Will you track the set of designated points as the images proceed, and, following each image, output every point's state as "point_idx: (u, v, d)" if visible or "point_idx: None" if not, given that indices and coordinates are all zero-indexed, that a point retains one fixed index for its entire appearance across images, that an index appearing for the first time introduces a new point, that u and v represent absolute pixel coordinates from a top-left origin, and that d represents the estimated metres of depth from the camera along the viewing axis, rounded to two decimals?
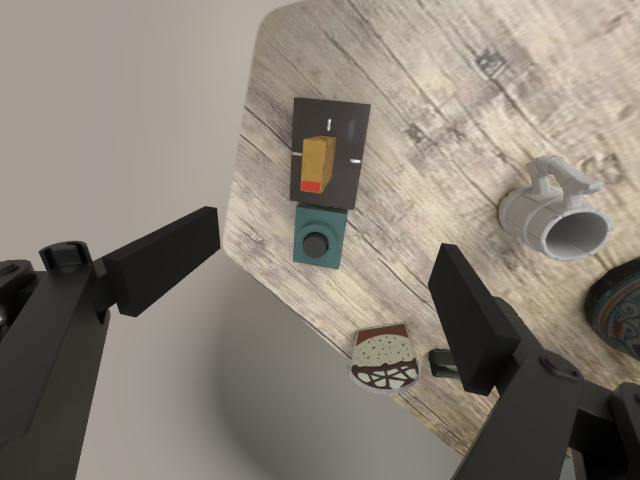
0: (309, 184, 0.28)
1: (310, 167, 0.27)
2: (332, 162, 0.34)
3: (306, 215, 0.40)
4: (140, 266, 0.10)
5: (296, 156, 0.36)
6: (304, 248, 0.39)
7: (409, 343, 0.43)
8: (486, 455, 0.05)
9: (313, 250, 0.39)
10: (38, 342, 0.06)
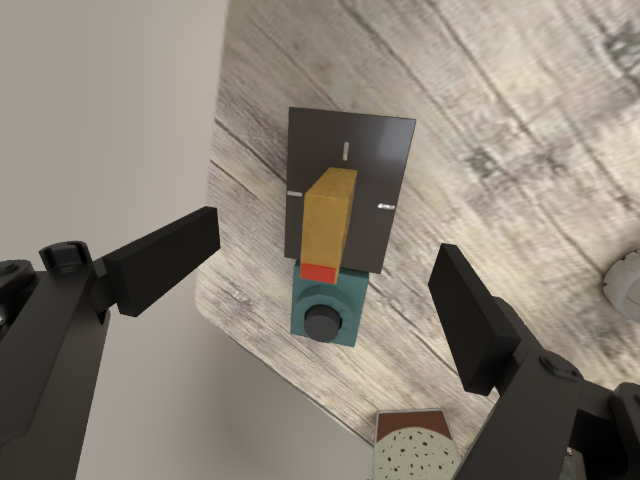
0: (315, 270, 0.15)
1: (317, 242, 0.15)
2: None
3: None
4: (140, 266, 0.10)
5: (294, 196, 0.23)
6: (306, 329, 0.26)
7: (455, 451, 0.30)
8: (487, 455, 0.05)
9: (319, 332, 0.26)
10: (38, 342, 0.06)
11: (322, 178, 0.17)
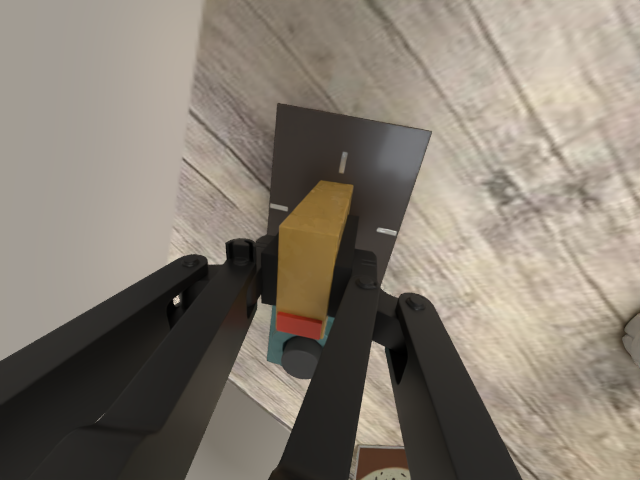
0: (295, 323, 0.12)
1: (298, 288, 0.11)
2: None
3: None
4: None
5: (278, 210, 0.20)
6: (283, 363, 0.23)
7: None
8: (327, 363, 0.06)
9: (298, 368, 0.22)
10: (200, 329, 0.07)
11: (308, 198, 0.14)
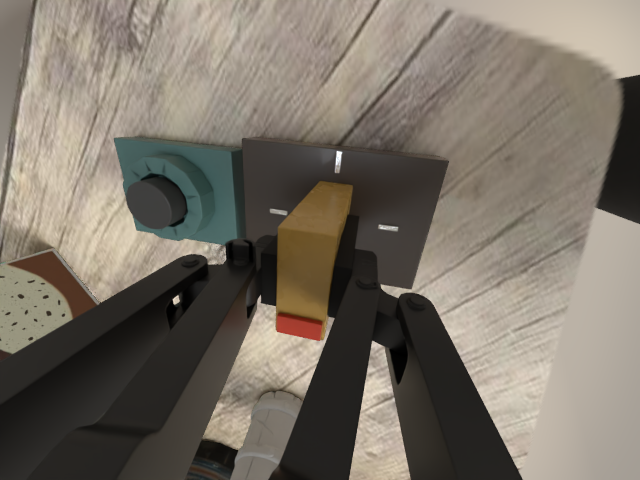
0: (295, 324, 0.12)
1: (297, 289, 0.11)
2: None
3: (218, 173, 0.20)
4: None
5: (333, 160, 0.17)
6: (139, 185, 0.18)
7: None
8: (327, 363, 0.06)
9: (142, 204, 0.18)
10: (199, 329, 0.07)
11: (307, 198, 0.14)
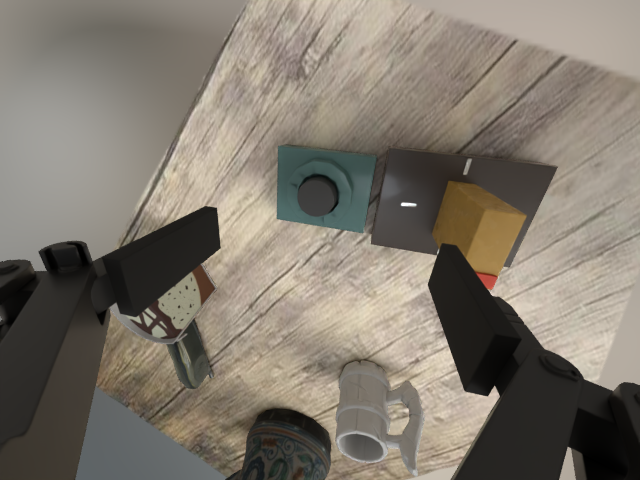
0: None
1: (485, 252, 0.16)
2: None
3: (361, 174, 0.25)
4: (140, 266, 0.10)
5: (462, 165, 0.23)
6: (312, 182, 0.23)
7: (195, 311, 0.34)
8: (487, 454, 0.05)
9: (310, 197, 0.24)
10: (38, 342, 0.06)
11: (466, 193, 0.19)
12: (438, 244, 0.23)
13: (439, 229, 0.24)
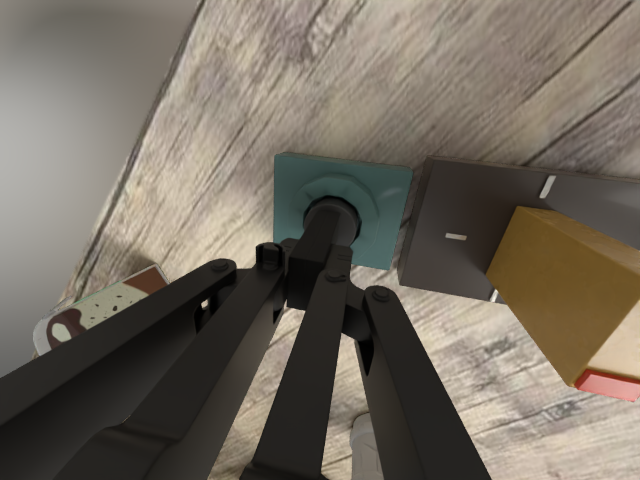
0: (612, 384, 0.10)
1: (632, 347, 0.10)
2: None
3: (390, 194, 0.18)
4: None
5: (540, 184, 0.16)
6: (326, 207, 0.17)
7: None
8: (298, 356, 0.06)
9: None
10: (226, 334, 0.07)
11: (570, 234, 0.12)
12: (504, 297, 0.16)
13: (503, 274, 0.17)
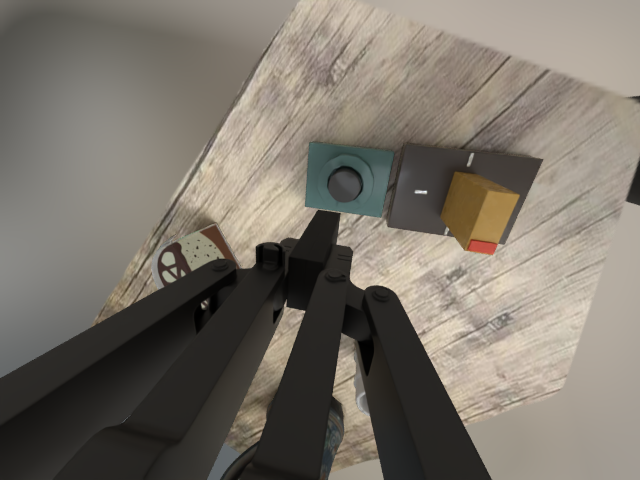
0: (482, 244, 0.22)
1: (488, 224, 0.21)
2: None
3: (380, 166, 0.30)
4: None
5: (466, 158, 0.27)
6: (342, 173, 0.28)
7: None
8: (298, 356, 0.06)
9: (340, 186, 0.28)
10: (226, 334, 0.07)
11: (472, 180, 0.24)
12: (447, 224, 0.28)
13: (447, 212, 0.28)
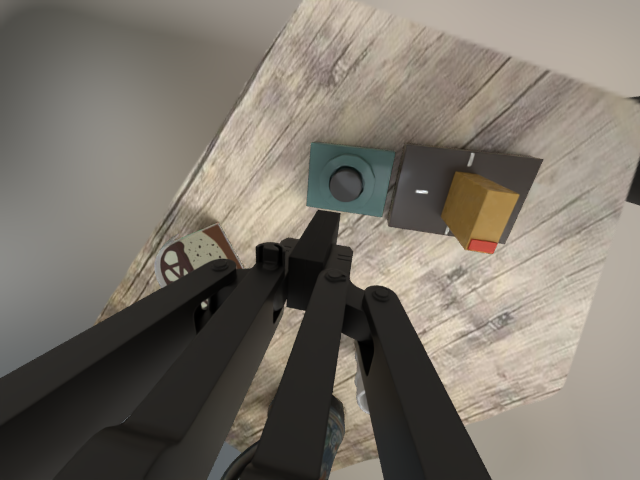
0: (482, 244, 0.22)
1: (488, 224, 0.21)
2: None
3: (382, 166, 0.30)
4: None
5: (467, 158, 0.28)
6: (343, 173, 0.28)
7: None
8: (298, 356, 0.06)
9: (341, 185, 0.29)
10: (226, 334, 0.07)
11: (472, 179, 0.24)
12: (447, 223, 0.28)
13: (448, 211, 0.28)
